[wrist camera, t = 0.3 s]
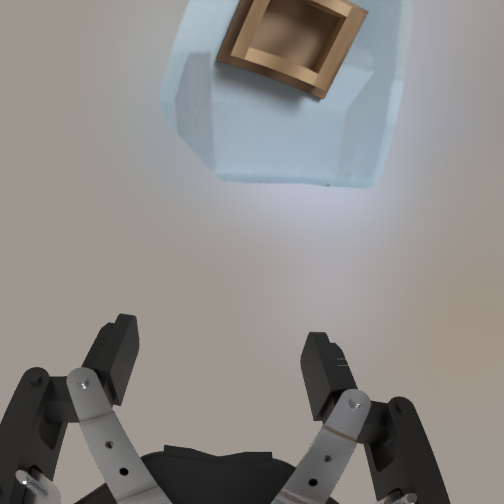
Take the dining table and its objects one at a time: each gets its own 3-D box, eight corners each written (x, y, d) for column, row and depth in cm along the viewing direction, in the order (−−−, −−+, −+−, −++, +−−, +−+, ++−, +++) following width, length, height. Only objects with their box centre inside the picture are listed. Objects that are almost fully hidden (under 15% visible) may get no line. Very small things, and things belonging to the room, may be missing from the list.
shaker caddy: (217, 59, 29) (212, 63, 25) (258, -34, 20) (258, -43, 16) (322, 98, 32) (330, 106, 29) (366, 12, 23) (380, 10, 20)
